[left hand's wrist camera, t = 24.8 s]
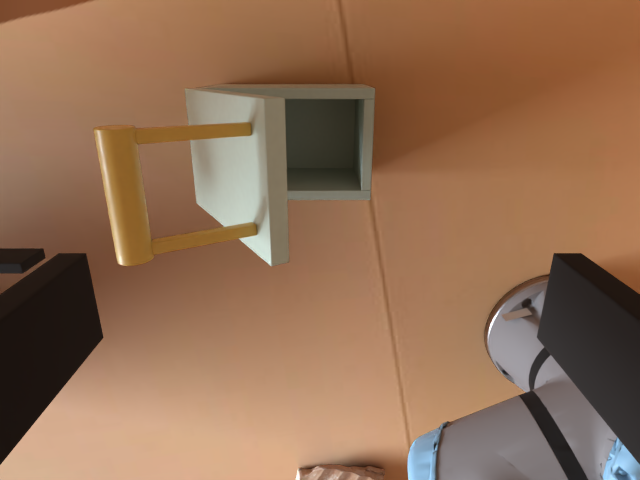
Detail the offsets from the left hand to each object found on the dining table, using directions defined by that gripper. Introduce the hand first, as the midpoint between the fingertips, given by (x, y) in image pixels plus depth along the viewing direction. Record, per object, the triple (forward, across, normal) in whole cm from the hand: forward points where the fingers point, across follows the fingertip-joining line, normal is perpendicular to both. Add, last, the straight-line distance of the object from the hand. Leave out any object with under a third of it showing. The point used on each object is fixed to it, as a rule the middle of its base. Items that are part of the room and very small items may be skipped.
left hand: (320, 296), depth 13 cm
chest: (+37, +3, 0) cm, 37 cm away
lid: (+19, +6, 0) cm, 20 cm away
